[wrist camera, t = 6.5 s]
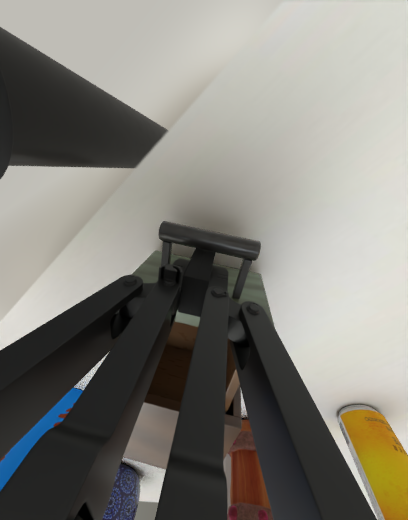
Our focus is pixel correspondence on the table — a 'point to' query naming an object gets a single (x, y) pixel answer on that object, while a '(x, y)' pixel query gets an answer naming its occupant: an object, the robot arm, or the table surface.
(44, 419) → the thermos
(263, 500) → the mug
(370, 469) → the beer can
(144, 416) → the cabinet
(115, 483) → the planter
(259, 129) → the table surface
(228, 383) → the drawer
